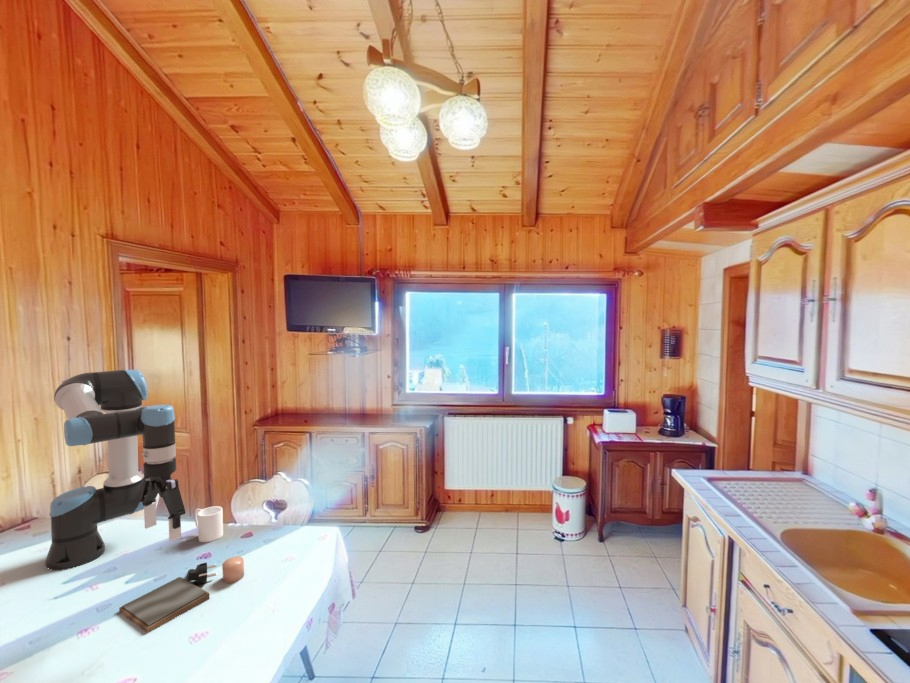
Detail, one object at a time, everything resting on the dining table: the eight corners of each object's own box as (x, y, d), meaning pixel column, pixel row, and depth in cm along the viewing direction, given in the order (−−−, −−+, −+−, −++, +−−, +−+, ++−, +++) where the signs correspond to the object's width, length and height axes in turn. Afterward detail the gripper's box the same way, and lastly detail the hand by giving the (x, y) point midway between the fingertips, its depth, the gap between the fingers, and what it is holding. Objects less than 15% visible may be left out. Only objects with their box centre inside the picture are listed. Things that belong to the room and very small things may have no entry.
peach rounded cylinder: (224, 585, 128) (223, 571, 127) (222, 574, 133) (221, 560, 132) (245, 578, 131) (244, 564, 131) (242, 568, 136) (241, 554, 135)
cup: (204, 528, 163) (203, 503, 163) (228, 532, 160) (227, 507, 159) (185, 538, 156) (184, 513, 155) (209, 543, 152) (209, 517, 152)
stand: (119, 614, 115) (119, 606, 115) (180, 582, 129) (180, 575, 129) (147, 635, 107) (147, 627, 107) (209, 599, 121) (209, 591, 121)
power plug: (187, 561, 135) (189, 568, 125) (214, 555, 139) (217, 561, 130) (187, 580, 134) (188, 588, 124) (213, 573, 138) (217, 581, 129)
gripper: (123, 456, 119) (126, 527, 120) (168, 472, 107) (171, 550, 108) (152, 449, 126) (155, 516, 127) (198, 463, 113) (200, 537, 114)
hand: (162, 532), depth 117 cm, fingers open, 13 cm apart
